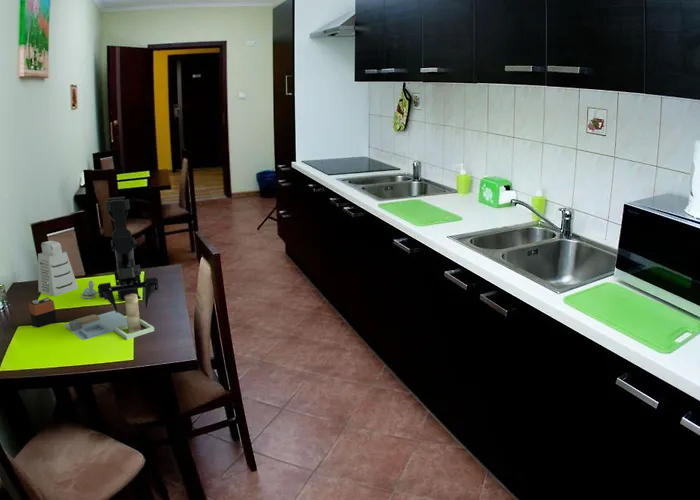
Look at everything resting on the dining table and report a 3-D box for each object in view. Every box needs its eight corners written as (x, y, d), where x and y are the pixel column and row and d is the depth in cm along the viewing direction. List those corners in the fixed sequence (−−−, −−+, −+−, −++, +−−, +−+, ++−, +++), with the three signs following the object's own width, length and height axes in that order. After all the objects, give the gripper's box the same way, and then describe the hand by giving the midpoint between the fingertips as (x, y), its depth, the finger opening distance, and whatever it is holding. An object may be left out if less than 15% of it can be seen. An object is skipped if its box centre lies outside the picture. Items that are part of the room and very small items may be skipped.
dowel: (134, 329, 198) (130, 292, 194) (143, 331, 196) (139, 294, 193) (125, 333, 194) (121, 296, 191) (134, 335, 193) (131, 298, 189)
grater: (54, 296, 229) (45, 247, 223) (38, 291, 235) (30, 244, 229) (78, 288, 238) (70, 241, 232) (62, 283, 243) (55, 237, 237)
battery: (32, 327, 201) (27, 300, 198) (52, 321, 206) (48, 295, 203) (37, 331, 198) (33, 303, 196) (58, 324, 203) (53, 298, 200)
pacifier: (86, 301, 225) (101, 296, 229) (83, 286, 223) (98, 281, 227) (78, 296, 230) (92, 292, 234) (75, 281, 228) (90, 277, 232)
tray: (141, 325, 202) (141, 319, 201) (154, 333, 195) (153, 327, 195) (115, 334, 196) (114, 327, 195) (127, 342, 189) (126, 335, 188)
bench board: (115, 313, 212) (114, 303, 211) (136, 327, 201) (135, 317, 200) (64, 328, 200) (62, 318, 199) (83, 343, 189) (81, 333, 188)
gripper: (94, 260, 188) (98, 304, 181) (154, 253, 195) (161, 295, 188) (97, 276, 197) (102, 318, 191) (155, 269, 204) (161, 309, 197)
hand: (131, 310), depth 192 cm, fingers open, 9 cm apart
